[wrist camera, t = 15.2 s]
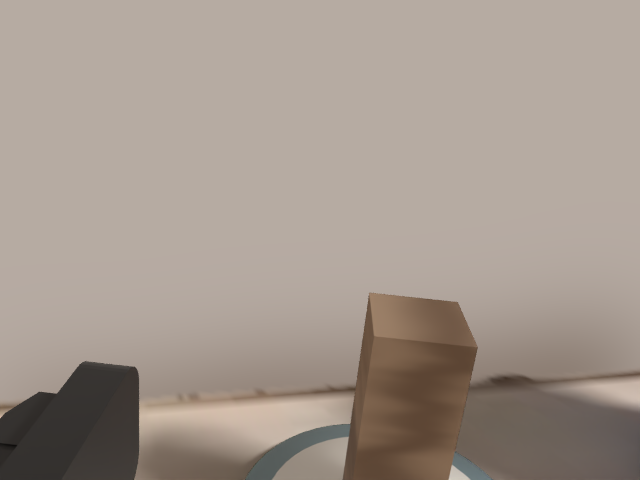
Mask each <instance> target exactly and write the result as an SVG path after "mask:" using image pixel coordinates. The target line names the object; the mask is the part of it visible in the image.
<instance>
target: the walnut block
mask: <svg viewBox="0 0 640 480" xmlns="http://www.w3.org/2000/svg"><path fill="white" fill-rule="evenodd" d="M361 348H362V349H361V354H360V361H359V368H358V376H357V382H356V389H355V396H354V403H353V410H352V417H351V424H350V431H349V438H348V445H347V452H346V459H345V466H344V473H343V480H449V476H450V471H451V466H452V462H453V457H454V453H455V448H456V444H457V439H458V435H459V430H460V426H461V421H462V416H463V412H464V407H465V403H466V398H467V394H468V389H469V385H470V380H471V375H472V371H473V366H474V362H475V357H476V353H477V348H478V347H477V345H476V342H475V340H474V338H473V336H472V333H471V331H470V329H469V327H468V325H467V322H466V320H465V318H464V315H463V313H462V311H461V308H460V306H459V304H458V302H451V301H442V300H432V299H423V298H413V297H404V296H395V295H385V294H376V293H369V298H368V306H367V313H366V320H365V326H364V334H363V340H362V347H361Z"/></svg>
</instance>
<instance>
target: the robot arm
mask: <svg viewBox="0 0 640 480" xmlns="http://www.w3.org/2000/svg"><path fill="white" fill-rule="evenodd" d="M138 456H139V375H138V371H137V369H136V368H135V367H129V366H122V365H112V364H104V363H95V362H86V361H85V362H82V363H81V364H80V365H79V366H78V367H77V369H76V370H75V371H74V372H73V374H72V375H71V376H70V378H69V379H68V380H67V382H66V383H65V384H64V385H63V387H62V388H61V390H60V391H59V392H58V393H57V394H53V393H45V392H38V393H37V394H35V395H34V396H32V397H30V398H29V399H27V400H25V401H24V402H22V403H21V404H19V405H17V406H16V407H14V408H13V409H11V410H9V411H8V412H6V413H5V414H4V415H3V416H2V417H1V418H0V480H134V478H135V474H136V469H137V464H138Z"/></svg>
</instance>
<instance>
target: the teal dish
mask: <svg viewBox="0 0 640 480" xmlns="http://www.w3.org/2000/svg"><path fill="white" fill-rule="evenodd" d="M349 431H350V424H342V425H332V426H326V427H321V428H316V429H313V430H310V431H306V432H303V433H300V434H298V435H296V436H293V437H291V438H289V439H287V440H285V441H284V442H282V443H280V444H278V445H277V446H275V447H274V448H273V449H271V450H270V451H269V452H268V453H266V454H265V455H264V456H263V457H262V458H261V459H260V460H259V461H258V462H257V463H256V464H255V466H254V467H253V468H252V470H251V471H250V472H249V474H248V475H247V477H246V479H245V480H343V473H344V466H345V459H346V452H347V445H348V438H349ZM449 480H493V479H492V478H490V477H489V476H488V475H487V474H486V473H485V472H484V471H482V470H481V469H480V468H479V467H477V466H476V465H475V464H473V463H472V462H471V461H469V460H468V459H467V458H465V457H463V456H462V455H460V454H458V453H457V452H455V453H454V457H453V462H452V466H451V471H450V476H449Z"/></svg>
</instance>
